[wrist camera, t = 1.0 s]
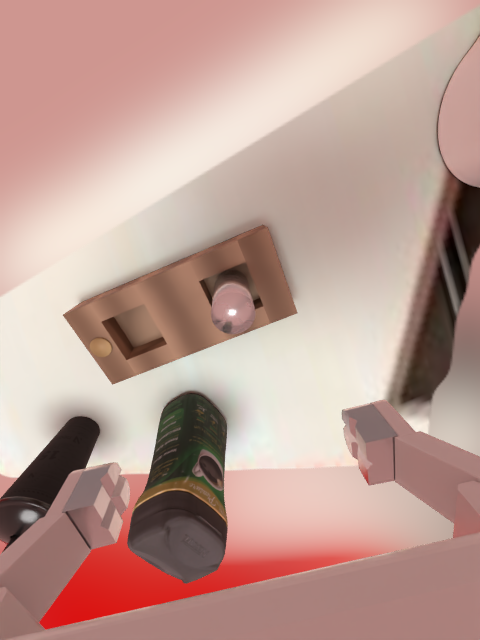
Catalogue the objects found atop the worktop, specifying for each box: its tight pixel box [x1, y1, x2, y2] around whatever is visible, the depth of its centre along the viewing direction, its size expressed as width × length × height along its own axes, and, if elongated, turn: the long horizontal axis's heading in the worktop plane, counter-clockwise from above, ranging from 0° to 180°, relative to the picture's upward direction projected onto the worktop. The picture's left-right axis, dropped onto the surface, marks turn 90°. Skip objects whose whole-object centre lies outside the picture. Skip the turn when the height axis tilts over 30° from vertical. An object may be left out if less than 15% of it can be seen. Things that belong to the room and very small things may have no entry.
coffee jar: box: [127, 394, 228, 583], centre depth 34 cm, size 10×8×19 cm
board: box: [63, 225, 297, 384], centre depth 33 cm, size 24×10×4 cm, turn 112°
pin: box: [211, 270, 255, 334], centre depth 29 cm, size 4×4×9 cm
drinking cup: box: [0, 417, 100, 552], centre depth 33 cm, size 8×8×20 cm
